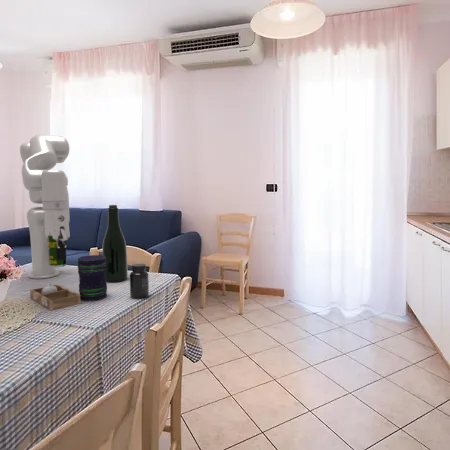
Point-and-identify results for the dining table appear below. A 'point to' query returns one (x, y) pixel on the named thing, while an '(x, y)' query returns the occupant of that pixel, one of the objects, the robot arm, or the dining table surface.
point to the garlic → (49, 289)
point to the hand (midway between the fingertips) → (57, 257)
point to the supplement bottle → (139, 282)
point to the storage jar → (92, 277)
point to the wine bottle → (114, 248)
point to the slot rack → (55, 297)
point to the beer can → (54, 253)
